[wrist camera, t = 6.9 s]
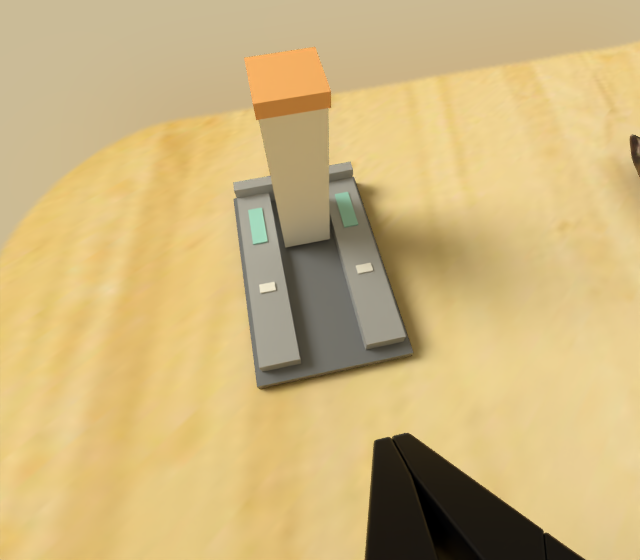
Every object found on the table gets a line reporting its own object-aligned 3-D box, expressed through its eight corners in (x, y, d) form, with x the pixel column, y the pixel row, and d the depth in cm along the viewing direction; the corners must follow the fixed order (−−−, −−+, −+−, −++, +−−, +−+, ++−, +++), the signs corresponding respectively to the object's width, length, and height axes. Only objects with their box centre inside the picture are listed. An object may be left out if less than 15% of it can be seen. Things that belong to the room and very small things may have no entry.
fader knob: (331, 239, 26) (330, 91, 16) (284, 248, 26) (253, 103, 16) (321, 203, 27) (315, 46, 17) (276, 211, 27) (244, 57, 17)
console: (411, 355, 23) (419, 343, 21) (258, 388, 22) (251, 379, 20) (353, 182, 29) (355, 159, 27) (235, 203, 29) (227, 182, 27)
